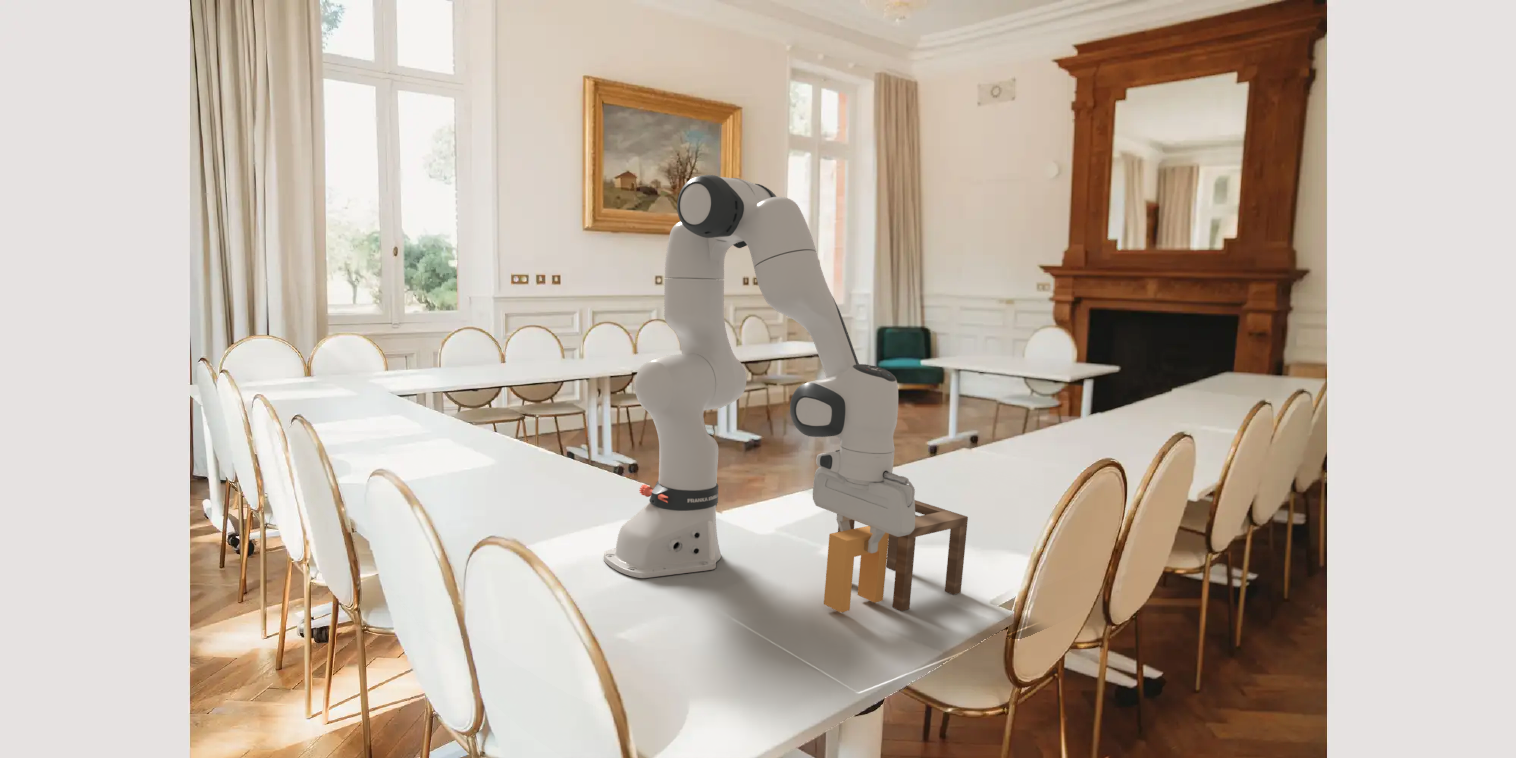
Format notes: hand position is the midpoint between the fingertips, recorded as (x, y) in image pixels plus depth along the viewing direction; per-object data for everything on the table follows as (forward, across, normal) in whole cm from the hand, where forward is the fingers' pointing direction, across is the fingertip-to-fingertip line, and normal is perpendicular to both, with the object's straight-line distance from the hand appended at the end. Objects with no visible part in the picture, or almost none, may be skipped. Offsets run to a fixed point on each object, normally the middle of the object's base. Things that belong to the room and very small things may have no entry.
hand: (858, 546), depth 136 cm
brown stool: (+11, +3, -14) cm, 18 cm away
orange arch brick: (+10, 0, 0) cm, 10 cm away
